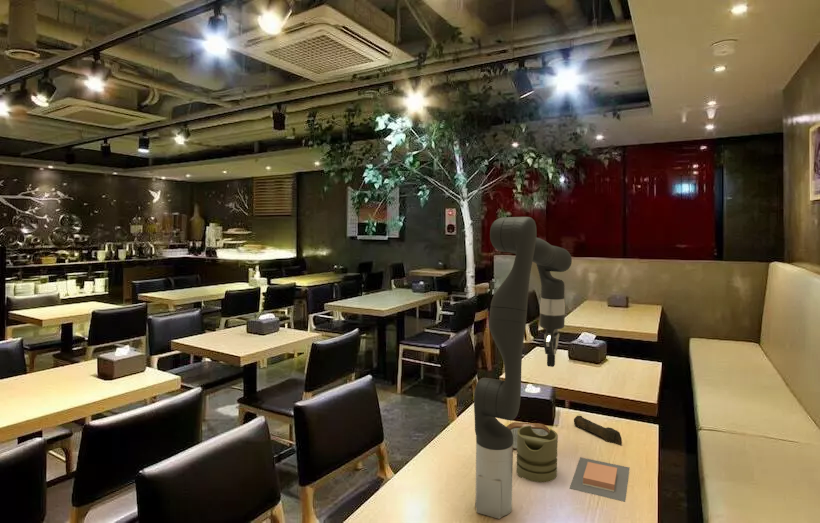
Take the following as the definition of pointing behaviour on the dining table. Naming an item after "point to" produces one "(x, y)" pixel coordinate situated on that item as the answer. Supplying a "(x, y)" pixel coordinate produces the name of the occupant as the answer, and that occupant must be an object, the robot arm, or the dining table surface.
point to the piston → (536, 455)
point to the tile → (600, 476)
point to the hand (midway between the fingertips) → (550, 365)
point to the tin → (536, 427)
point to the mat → (617, 494)
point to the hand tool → (599, 430)
